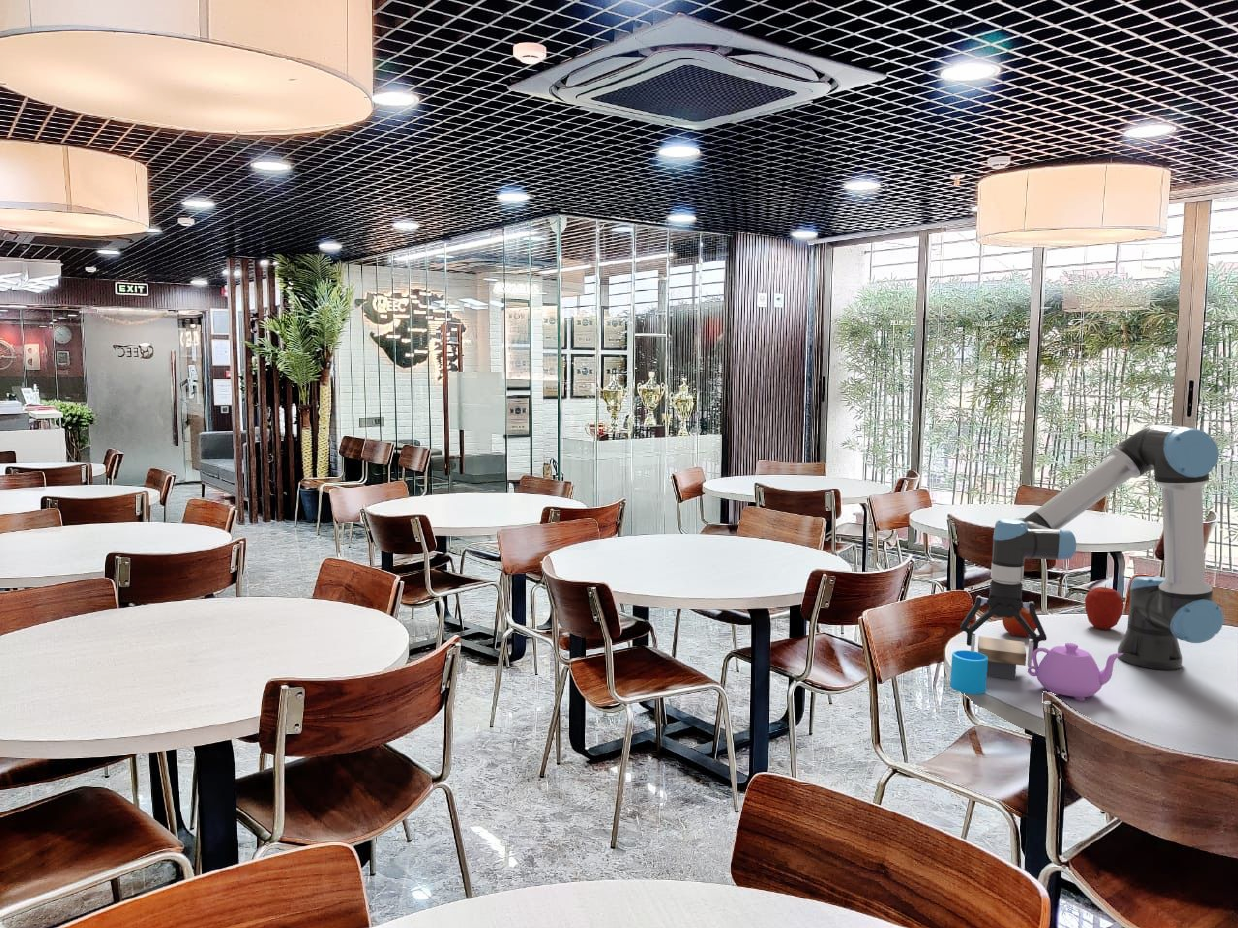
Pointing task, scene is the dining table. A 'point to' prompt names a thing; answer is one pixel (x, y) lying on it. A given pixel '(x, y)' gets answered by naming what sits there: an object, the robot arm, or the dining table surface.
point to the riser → (1001, 670)
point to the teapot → (1071, 671)
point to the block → (1003, 650)
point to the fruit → (1018, 624)
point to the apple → (1103, 607)
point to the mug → (968, 672)
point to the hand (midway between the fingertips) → (1000, 661)
